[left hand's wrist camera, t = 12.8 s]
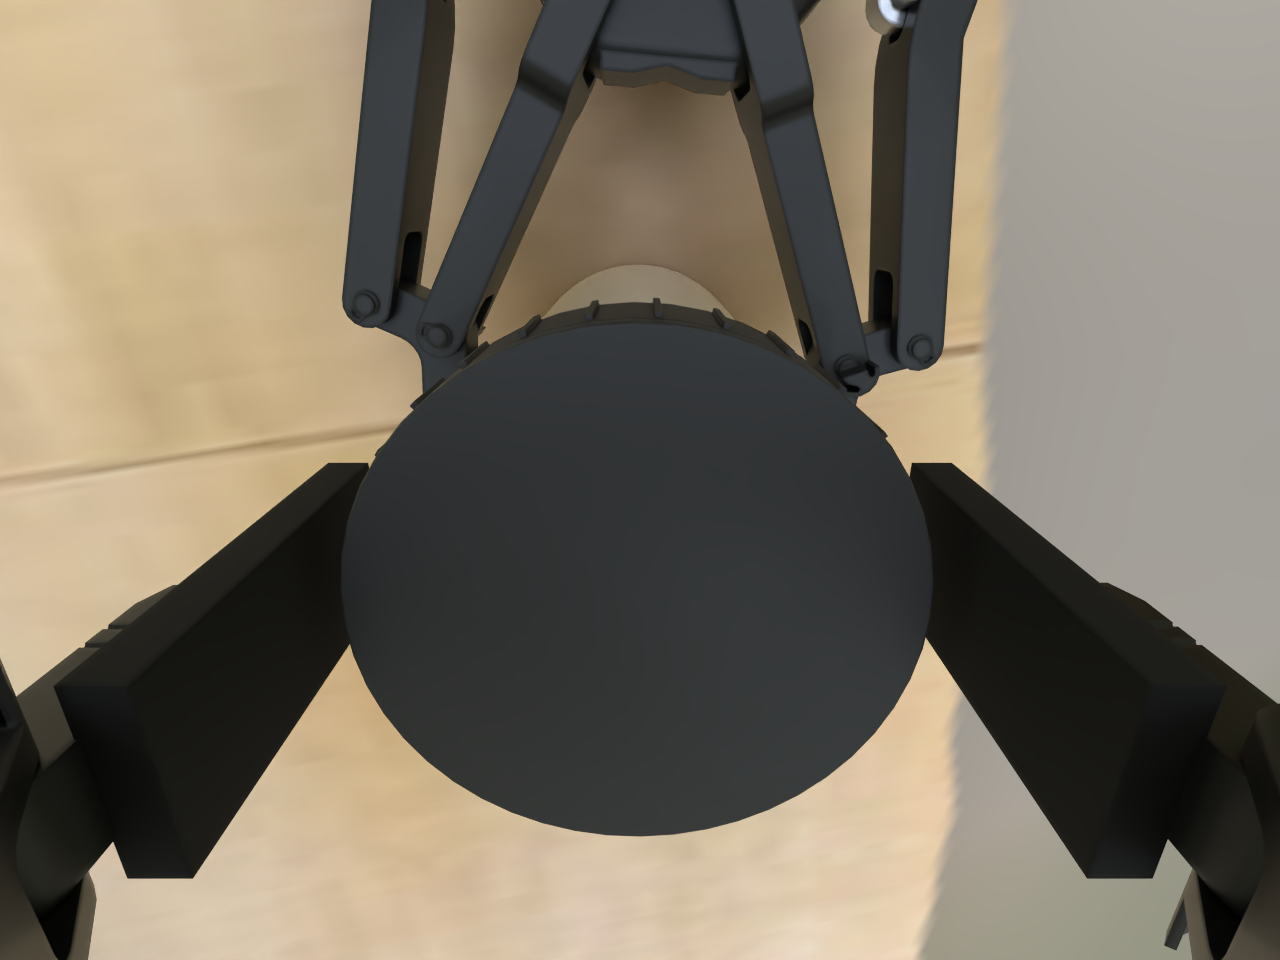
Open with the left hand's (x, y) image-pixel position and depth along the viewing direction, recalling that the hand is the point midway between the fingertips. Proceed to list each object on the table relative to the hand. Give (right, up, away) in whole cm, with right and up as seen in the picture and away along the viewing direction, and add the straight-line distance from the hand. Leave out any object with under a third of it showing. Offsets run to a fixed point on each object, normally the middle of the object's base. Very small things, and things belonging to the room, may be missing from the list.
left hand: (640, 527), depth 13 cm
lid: (0, -1, -3) cm, 3 cm away
